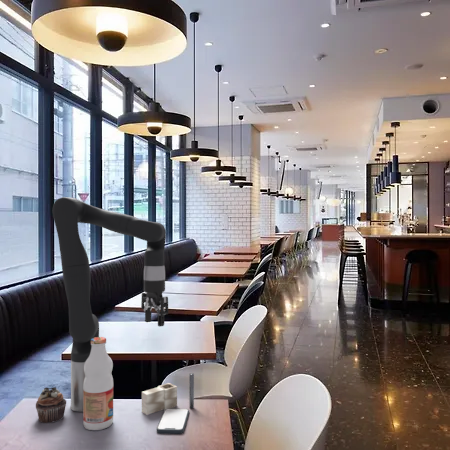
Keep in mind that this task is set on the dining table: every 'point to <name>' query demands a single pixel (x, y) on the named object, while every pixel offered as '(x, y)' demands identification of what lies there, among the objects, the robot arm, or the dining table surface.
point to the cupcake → (50, 405)
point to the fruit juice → (98, 387)
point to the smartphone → (173, 421)
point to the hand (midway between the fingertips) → (154, 323)
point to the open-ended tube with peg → (159, 398)
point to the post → (191, 390)
